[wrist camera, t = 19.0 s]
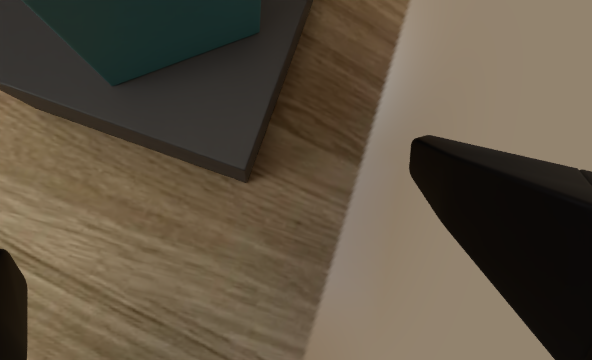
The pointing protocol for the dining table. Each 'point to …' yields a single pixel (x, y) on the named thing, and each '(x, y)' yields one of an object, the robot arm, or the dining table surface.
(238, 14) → the teal toy block
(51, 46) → the charcoal riser
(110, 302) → the dining table surface
